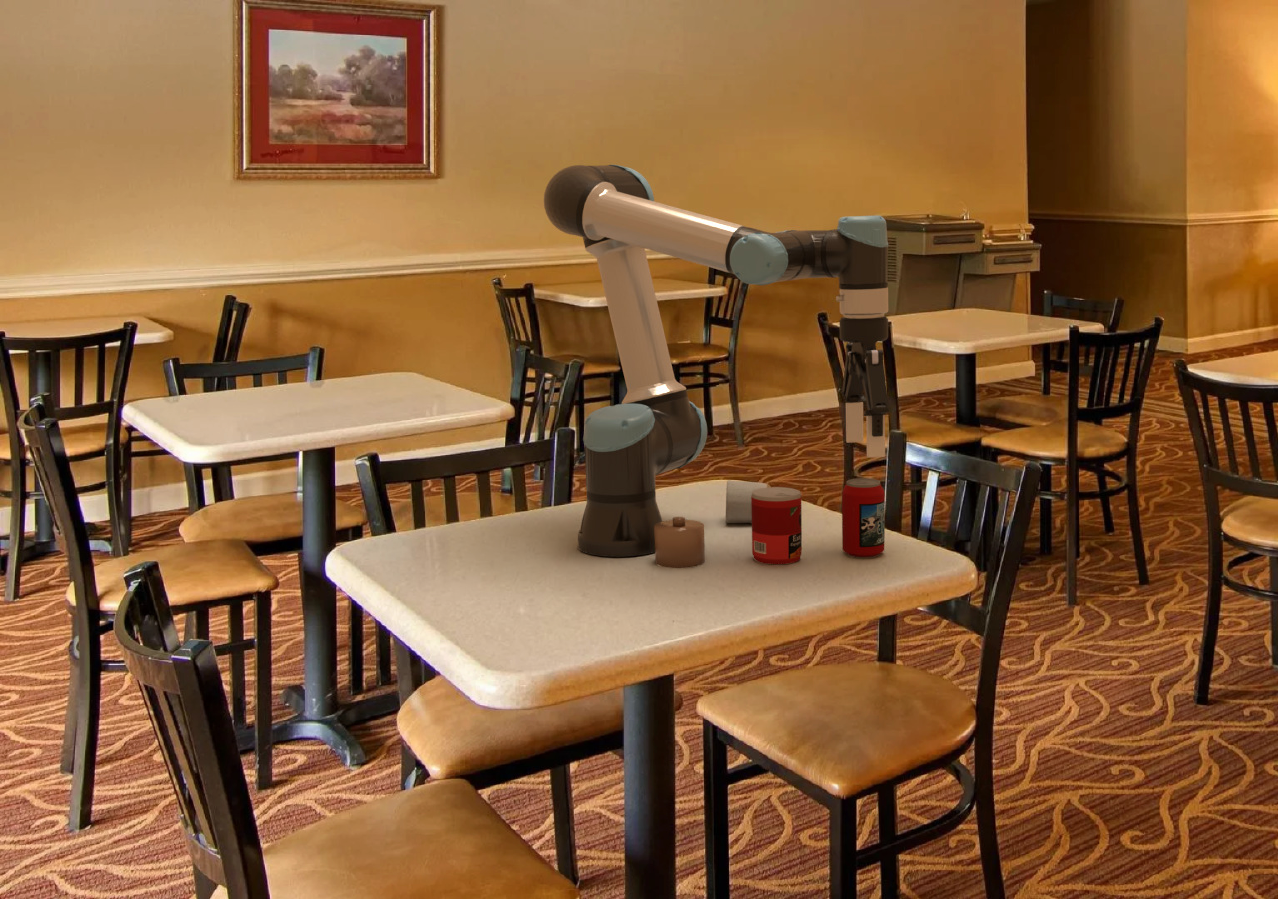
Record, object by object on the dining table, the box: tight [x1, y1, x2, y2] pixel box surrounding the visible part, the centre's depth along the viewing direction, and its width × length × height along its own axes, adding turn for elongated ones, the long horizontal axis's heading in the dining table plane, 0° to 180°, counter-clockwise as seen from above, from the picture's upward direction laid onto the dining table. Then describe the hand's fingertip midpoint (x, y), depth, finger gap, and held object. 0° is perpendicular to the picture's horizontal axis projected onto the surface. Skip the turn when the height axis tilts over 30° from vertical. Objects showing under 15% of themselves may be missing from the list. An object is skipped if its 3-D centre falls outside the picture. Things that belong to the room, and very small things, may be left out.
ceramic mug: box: [725, 479, 771, 524], centre depth 237 cm, size 11×8×8 cm
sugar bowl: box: [654, 516, 706, 569], centre depth 212 cm, size 8×8×7 cm
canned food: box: [751, 486, 803, 565], centre depth 211 cm, size 8×8×11 cm
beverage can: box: [841, 477, 886, 559], centre depth 212 cm, size 7×7×12 cm
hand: (865, 449), depth 210 cm, fingers open, 13 cm apart
